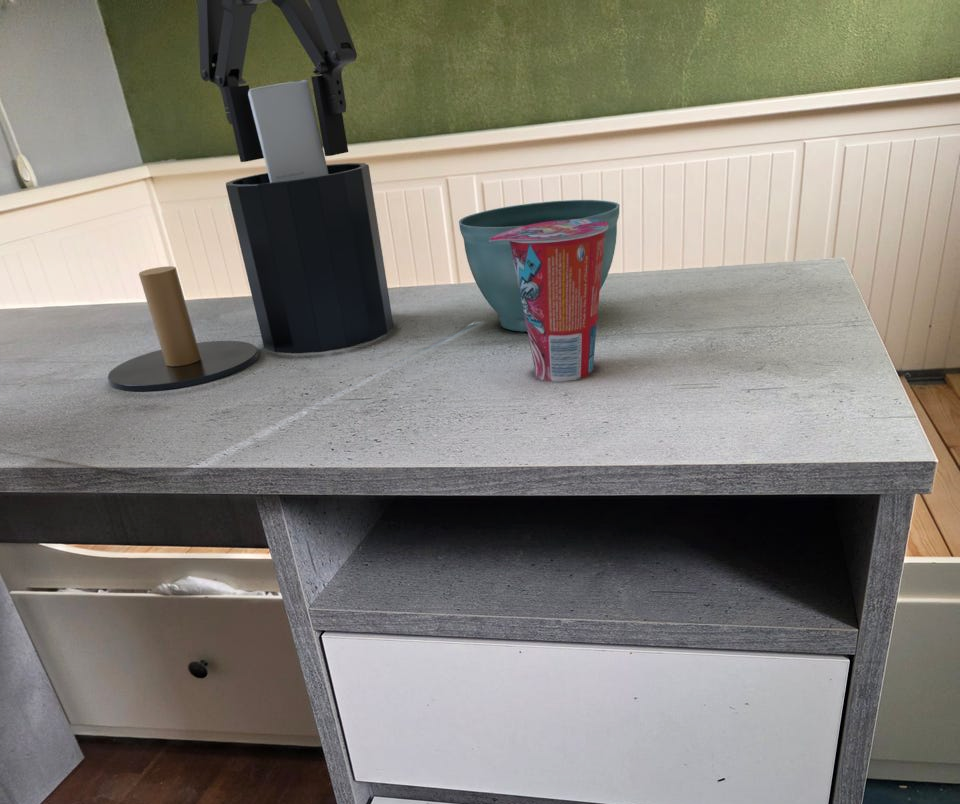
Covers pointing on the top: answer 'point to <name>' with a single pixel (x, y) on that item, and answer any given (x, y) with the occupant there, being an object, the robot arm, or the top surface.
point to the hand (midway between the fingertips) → (293, 157)
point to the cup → (559, 292)
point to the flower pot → (495, 257)
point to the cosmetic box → (288, 131)
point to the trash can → (313, 259)
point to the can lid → (177, 344)
